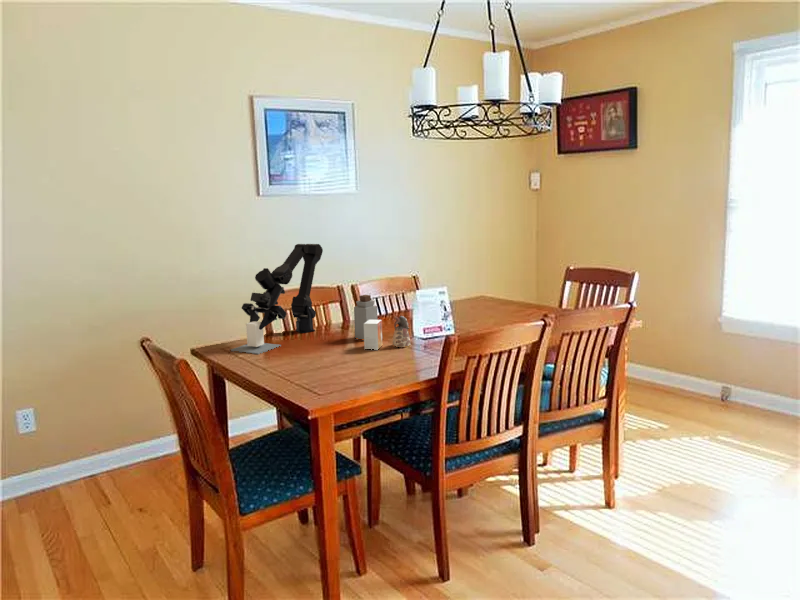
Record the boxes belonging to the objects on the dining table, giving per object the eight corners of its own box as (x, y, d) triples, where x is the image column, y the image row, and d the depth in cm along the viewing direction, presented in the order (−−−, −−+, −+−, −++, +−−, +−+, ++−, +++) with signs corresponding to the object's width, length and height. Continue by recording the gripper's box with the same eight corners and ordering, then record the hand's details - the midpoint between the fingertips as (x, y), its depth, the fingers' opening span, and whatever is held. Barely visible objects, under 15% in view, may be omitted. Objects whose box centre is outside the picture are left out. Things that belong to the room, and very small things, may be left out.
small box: (378, 350, 242) (377, 323, 240) (364, 350, 243) (363, 323, 242) (383, 345, 250) (382, 319, 248) (369, 345, 251) (368, 319, 249)
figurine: (412, 347, 246) (412, 317, 244) (394, 348, 245) (394, 318, 243) (408, 343, 253) (408, 313, 251) (391, 344, 252) (390, 314, 250)
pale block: (255, 343, 253) (253, 321, 251) (263, 344, 251) (262, 322, 249) (247, 345, 249) (246, 323, 247) (256, 346, 247) (255, 324, 245)
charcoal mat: (253, 342, 259) (253, 341, 259) (281, 346, 253) (281, 344, 253) (229, 350, 247) (229, 349, 247) (258, 354, 241) (258, 353, 241)
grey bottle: (378, 337, 263) (376, 295, 260) (367, 341, 258) (365, 297, 255) (366, 335, 267) (364, 293, 264) (355, 338, 262) (353, 296, 259)
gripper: (242, 283, 255) (225, 315, 247) (280, 285, 246) (263, 318, 239) (256, 299, 263) (240, 330, 255) (293, 302, 254) (277, 334, 247)
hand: (254, 328), depth 249 cm, fingers closed on pale block, 4 cm apart
